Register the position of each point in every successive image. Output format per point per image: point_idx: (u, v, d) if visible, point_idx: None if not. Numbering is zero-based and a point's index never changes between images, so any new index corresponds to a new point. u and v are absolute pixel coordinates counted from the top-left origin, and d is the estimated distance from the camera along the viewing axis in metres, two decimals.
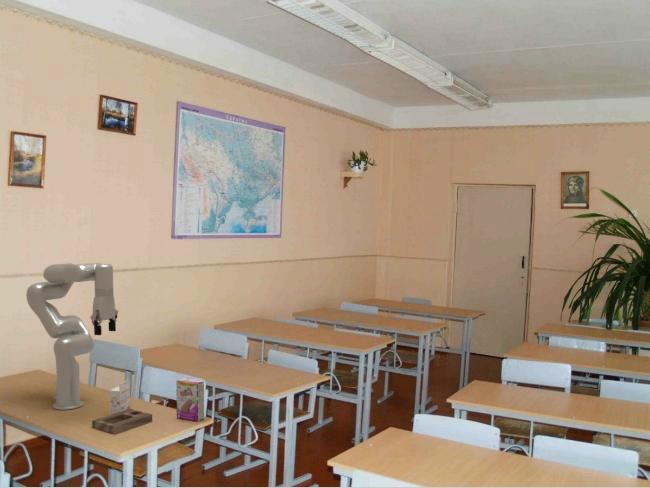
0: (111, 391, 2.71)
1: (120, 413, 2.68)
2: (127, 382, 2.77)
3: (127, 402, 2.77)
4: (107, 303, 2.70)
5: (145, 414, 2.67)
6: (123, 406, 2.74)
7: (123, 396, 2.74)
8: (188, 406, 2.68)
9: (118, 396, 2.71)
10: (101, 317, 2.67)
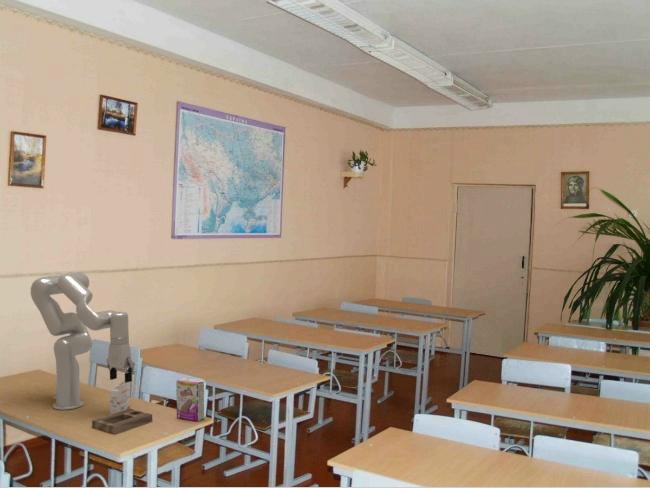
0: (111, 391, 2.71)
1: (120, 413, 2.68)
2: (127, 382, 2.77)
3: (127, 402, 2.77)
4: None
5: (145, 414, 2.67)
6: (123, 406, 2.74)
7: (123, 396, 2.74)
8: (188, 406, 2.68)
9: (118, 396, 2.71)
10: None
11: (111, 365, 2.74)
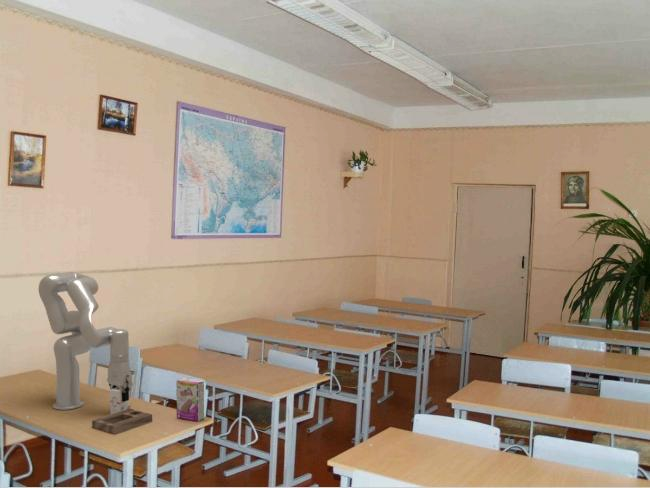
0: (111, 391, 2.71)
1: (120, 413, 2.68)
2: None
3: (127, 402, 2.77)
4: None
5: (145, 414, 2.67)
6: (123, 406, 2.74)
7: None
8: (188, 406, 2.68)
9: (118, 396, 2.71)
10: None
11: (110, 382, 2.74)
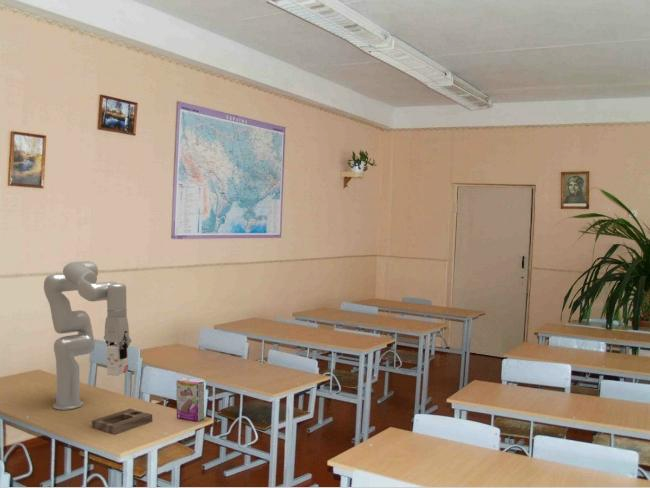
0: (108, 348, 2.58)
1: (120, 413, 2.68)
2: None
3: (125, 360, 2.63)
4: None
5: (145, 414, 2.67)
6: (121, 364, 2.60)
7: None
8: (188, 406, 2.68)
9: (115, 353, 2.57)
10: None
11: (107, 339, 2.60)
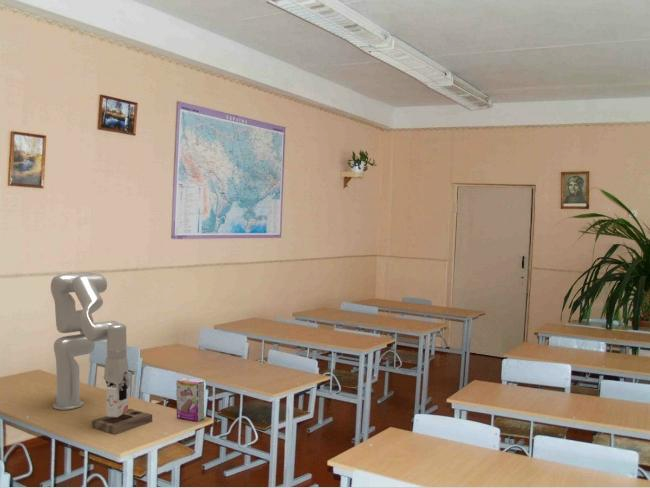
0: (108, 389, 2.56)
1: None
2: None
3: (125, 401, 2.61)
4: None
5: (145, 414, 2.67)
6: (120, 405, 2.58)
7: None
8: (188, 406, 2.68)
9: (115, 394, 2.56)
10: None
11: (107, 380, 2.59)
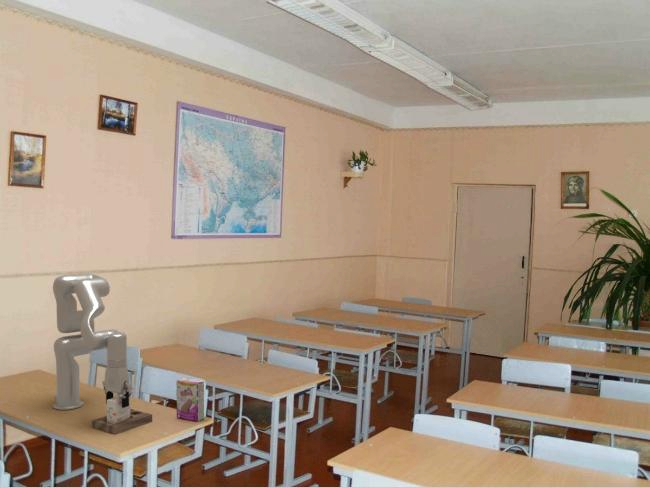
0: (108, 401, 2.57)
1: None
2: None
3: (126, 414, 2.61)
4: None
5: (145, 414, 2.67)
6: (120, 418, 2.58)
7: (120, 407, 2.58)
8: (188, 406, 2.68)
9: (114, 407, 2.56)
10: None
11: (107, 389, 2.59)
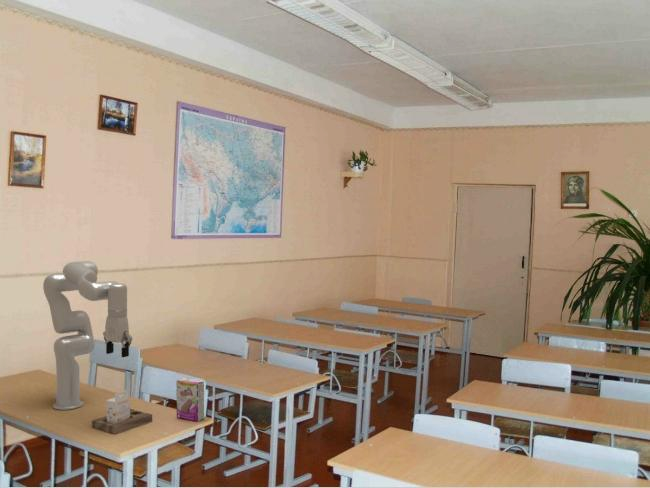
0: (107, 401, 2.57)
1: None
2: (126, 392, 2.61)
3: (126, 414, 2.61)
4: None
5: (145, 414, 2.67)
6: (120, 418, 2.58)
7: (120, 407, 2.58)
8: (188, 406, 2.68)
9: (114, 407, 2.56)
10: None
11: (108, 338, 2.61)
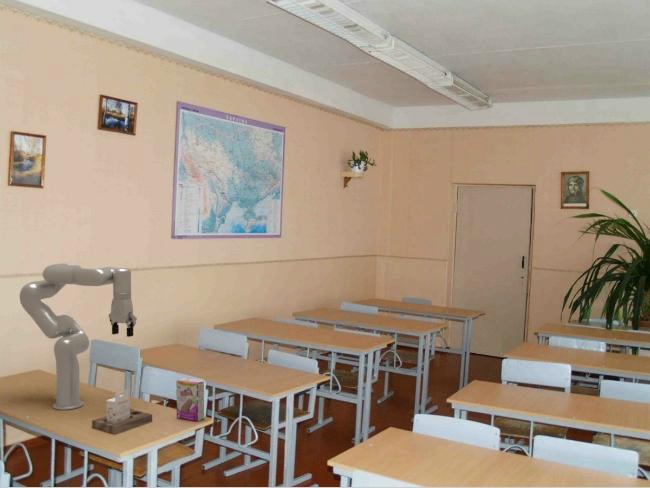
0: (107, 401, 2.57)
1: None
2: (126, 392, 2.61)
3: (126, 414, 2.61)
4: None
5: (145, 414, 2.67)
6: (120, 418, 2.58)
7: (120, 407, 2.58)
8: (188, 406, 2.68)
9: (114, 407, 2.56)
10: None
11: (113, 320, 2.79)
